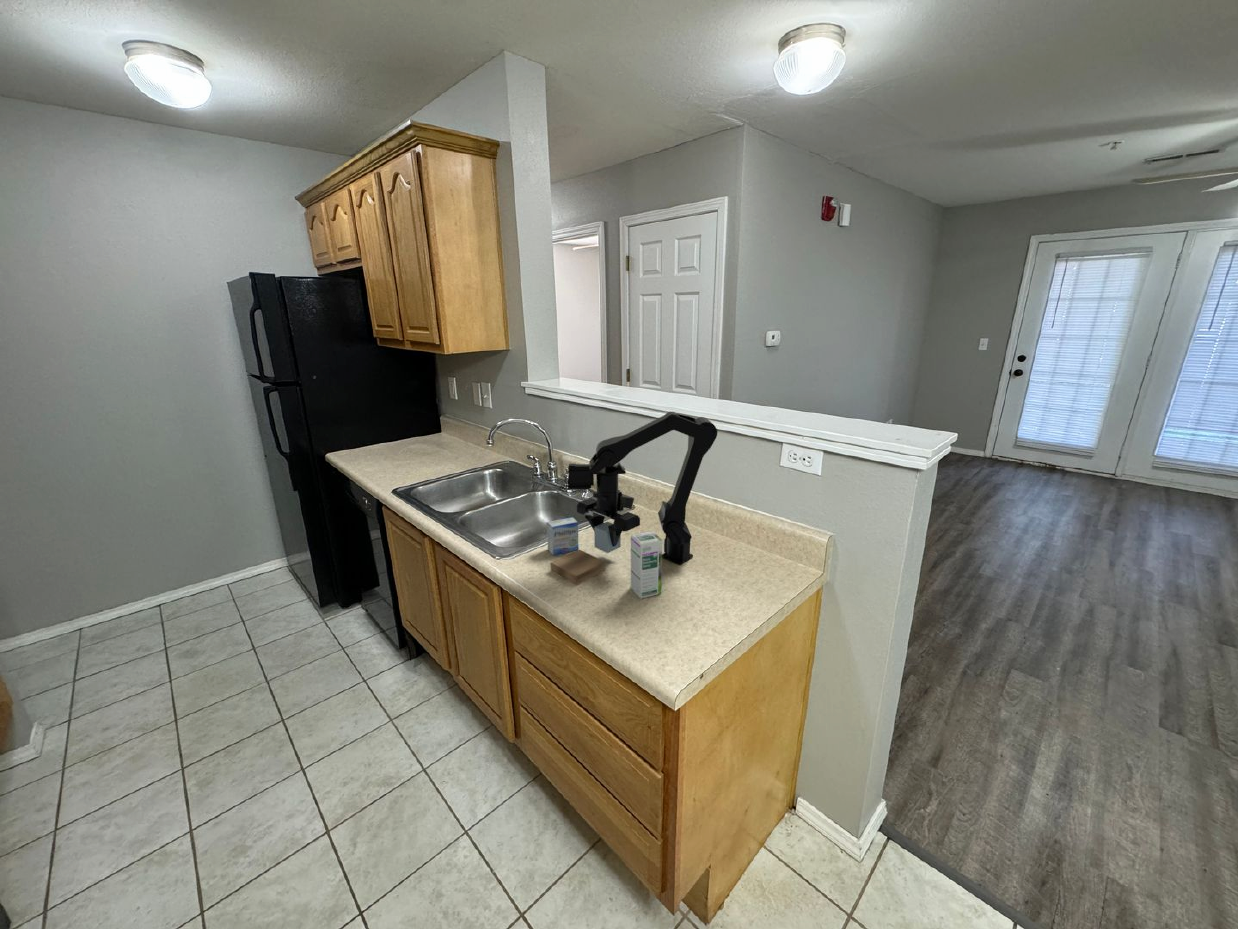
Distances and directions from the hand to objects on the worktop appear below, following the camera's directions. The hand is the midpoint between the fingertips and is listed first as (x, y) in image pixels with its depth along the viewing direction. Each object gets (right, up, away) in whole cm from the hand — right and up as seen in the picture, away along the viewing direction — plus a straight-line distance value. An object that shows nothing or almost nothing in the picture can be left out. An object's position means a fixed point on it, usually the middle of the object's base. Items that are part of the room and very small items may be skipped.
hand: (607, 542), depth 136 cm
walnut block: (-8, -7, -5) cm, 11 cm away
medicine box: (-13, -3, +7) cm, 15 cm away
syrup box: (+10, -10, -14) cm, 19 cm away
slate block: (0, -1, 0) cm, 1 cm away
